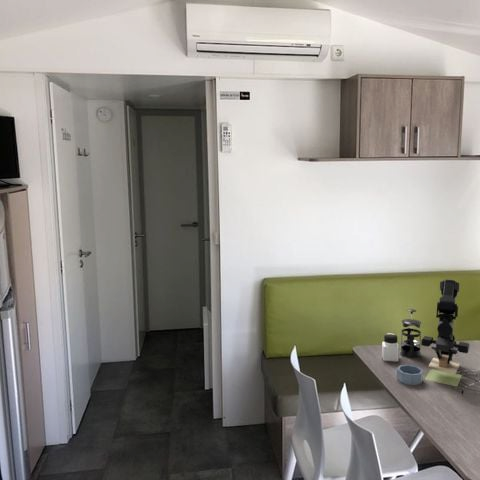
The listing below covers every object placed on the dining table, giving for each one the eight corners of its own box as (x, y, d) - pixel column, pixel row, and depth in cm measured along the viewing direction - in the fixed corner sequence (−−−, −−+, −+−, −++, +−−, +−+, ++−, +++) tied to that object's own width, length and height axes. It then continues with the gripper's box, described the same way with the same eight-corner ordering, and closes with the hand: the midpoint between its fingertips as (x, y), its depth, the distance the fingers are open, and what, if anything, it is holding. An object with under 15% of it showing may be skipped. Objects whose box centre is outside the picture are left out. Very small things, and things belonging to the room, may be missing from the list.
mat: (431, 369, 216) (431, 368, 216) (462, 375, 209) (462, 374, 209) (424, 380, 206) (424, 379, 206) (457, 387, 199) (457, 386, 199)
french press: (422, 359, 228) (423, 313, 224) (401, 358, 230) (403, 312, 226) (418, 350, 239) (420, 306, 236) (398, 349, 241) (400, 305, 238)
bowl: (401, 373, 213) (401, 363, 212) (424, 378, 207) (424, 367, 206) (394, 382, 204) (395, 371, 204) (419, 387, 199) (419, 376, 198)
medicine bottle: (398, 361, 226) (399, 337, 224) (383, 360, 227) (383, 337, 225) (397, 356, 233) (397, 332, 231) (381, 355, 234) (382, 331, 232)
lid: (433, 359, 214) (433, 351, 214) (459, 364, 208) (460, 355, 208) (428, 368, 205) (428, 359, 204) (455, 373, 199) (456, 364, 199)
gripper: (418, 330, 203) (417, 365, 205) (466, 338, 192) (464, 374, 195) (424, 323, 212) (423, 356, 214) (470, 330, 202) (468, 365, 204)
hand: (444, 363), depth 206 cm, fingers closed on lid, 3 cm apart
